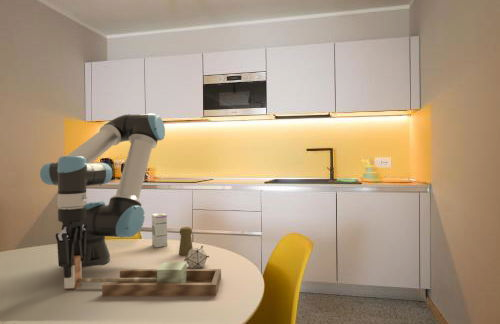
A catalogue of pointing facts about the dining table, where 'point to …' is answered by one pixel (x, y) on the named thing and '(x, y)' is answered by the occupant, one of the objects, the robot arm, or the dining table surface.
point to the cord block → (165, 274)
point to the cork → (185, 240)
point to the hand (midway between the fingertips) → (73, 285)
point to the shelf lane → (165, 284)
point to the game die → (196, 258)
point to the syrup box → (159, 229)
